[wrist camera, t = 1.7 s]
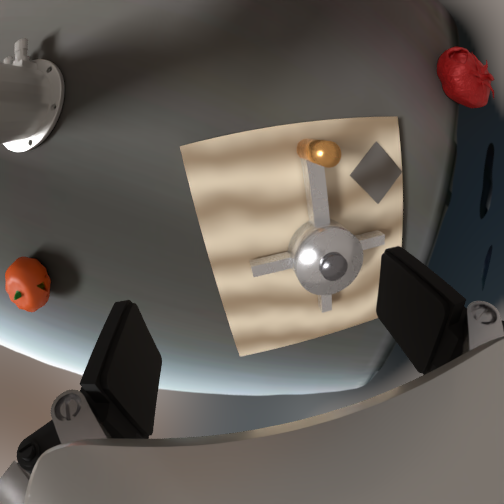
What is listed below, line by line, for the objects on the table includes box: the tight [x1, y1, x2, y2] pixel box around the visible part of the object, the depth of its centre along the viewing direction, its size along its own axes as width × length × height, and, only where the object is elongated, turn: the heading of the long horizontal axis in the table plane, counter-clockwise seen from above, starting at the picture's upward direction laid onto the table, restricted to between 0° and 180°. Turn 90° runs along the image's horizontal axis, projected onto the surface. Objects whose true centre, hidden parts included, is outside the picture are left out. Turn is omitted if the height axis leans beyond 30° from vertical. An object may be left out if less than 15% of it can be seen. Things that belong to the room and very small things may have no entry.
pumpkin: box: [5, 257, 51, 312], centre depth 28 cm, size 8×8×7 cm
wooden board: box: [180, 117, 403, 356], centre depth 34 cm, size 30×26×2 cm
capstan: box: [250, 139, 385, 313], centre depth 29 cm, size 22×17×6 cm
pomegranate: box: [437, 47, 494, 108], centre depth 22 cm, size 10×10×9 cm
